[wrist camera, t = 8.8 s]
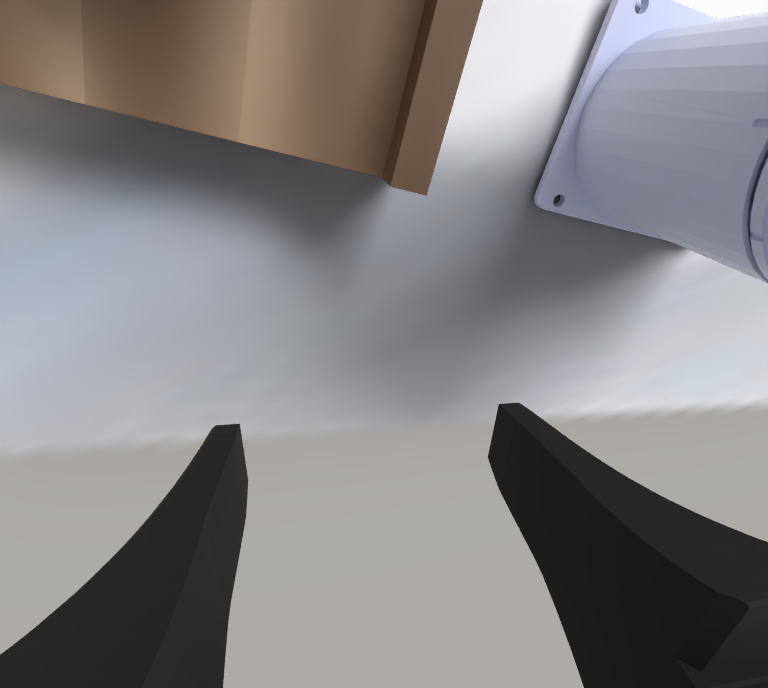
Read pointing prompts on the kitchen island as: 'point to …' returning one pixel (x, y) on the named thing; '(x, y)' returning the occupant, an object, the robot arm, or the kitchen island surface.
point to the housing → (259, 71)
